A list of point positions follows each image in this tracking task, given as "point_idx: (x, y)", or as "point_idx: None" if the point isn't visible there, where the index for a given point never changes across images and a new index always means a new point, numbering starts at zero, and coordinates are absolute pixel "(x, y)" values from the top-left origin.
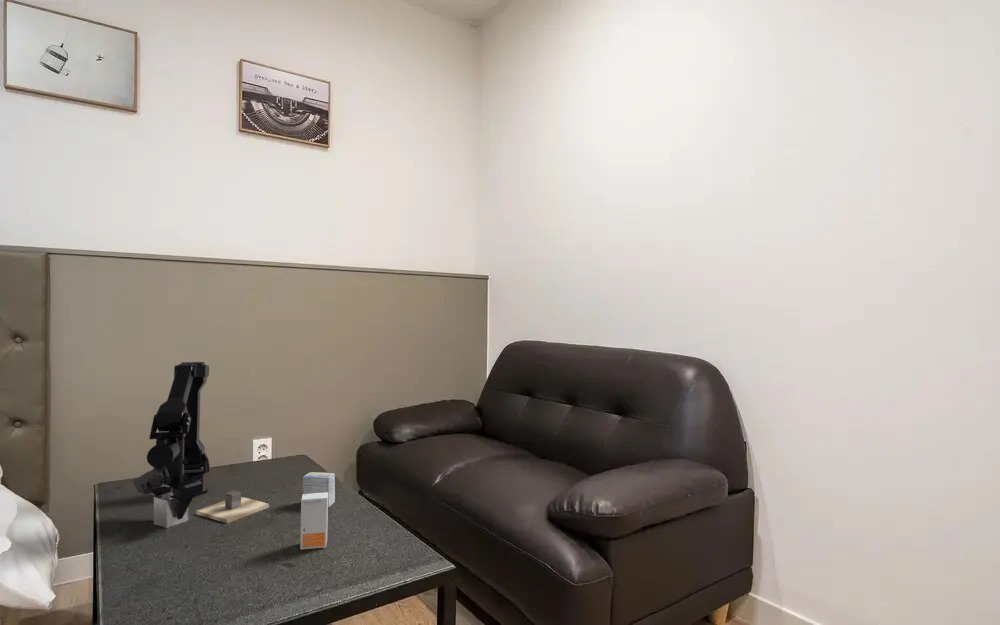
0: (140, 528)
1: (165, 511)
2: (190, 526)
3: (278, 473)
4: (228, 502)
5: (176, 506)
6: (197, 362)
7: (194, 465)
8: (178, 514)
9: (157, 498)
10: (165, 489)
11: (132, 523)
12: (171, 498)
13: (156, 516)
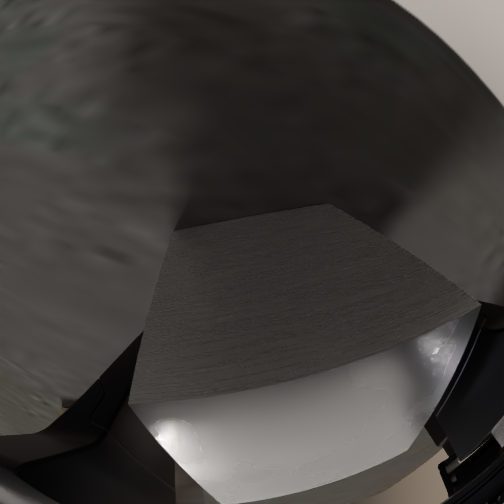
0: (321, 114)
1: (179, 289)
2: (106, 329)
3: (349, 492)
4: (182, 480)
5: (113, 389)
6: None
7: (473, 478)
8: (133, 343)
9: (416, 332)
10: (471, 414)
11: (426, 136)
12: (206, 452)
13: (322, 226)
